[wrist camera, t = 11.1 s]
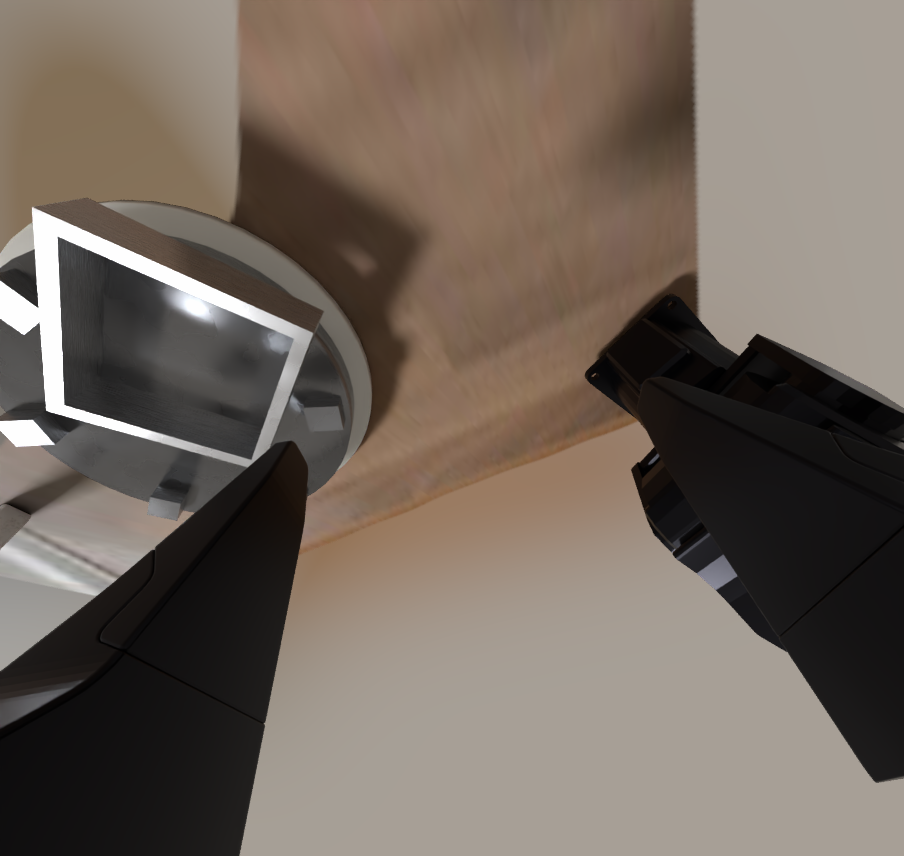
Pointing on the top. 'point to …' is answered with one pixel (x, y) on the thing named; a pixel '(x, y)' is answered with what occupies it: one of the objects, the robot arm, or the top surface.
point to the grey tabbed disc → (161, 361)
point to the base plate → (261, 259)
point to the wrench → (11, 522)
